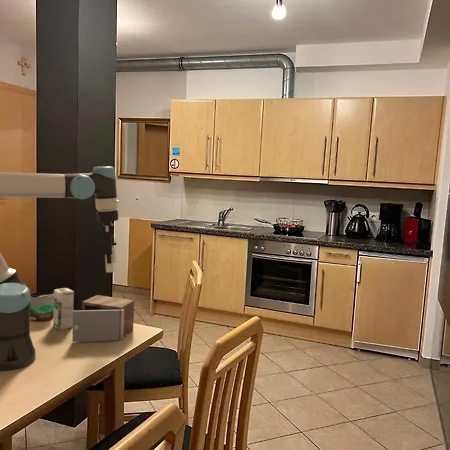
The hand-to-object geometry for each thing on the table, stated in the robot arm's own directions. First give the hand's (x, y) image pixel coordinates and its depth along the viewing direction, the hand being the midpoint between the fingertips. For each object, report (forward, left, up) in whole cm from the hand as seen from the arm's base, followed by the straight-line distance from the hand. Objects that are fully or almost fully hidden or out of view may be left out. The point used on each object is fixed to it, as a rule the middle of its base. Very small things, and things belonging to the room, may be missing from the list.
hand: (111, 267), depth 165 cm
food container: (-31, +4, -26) cm, 40 cm away
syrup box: (-20, 0, -26) cm, 32 cm away
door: (0, -9, -25) cm, 26 cm away
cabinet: (-2, +2, -25) cm, 26 cm away
